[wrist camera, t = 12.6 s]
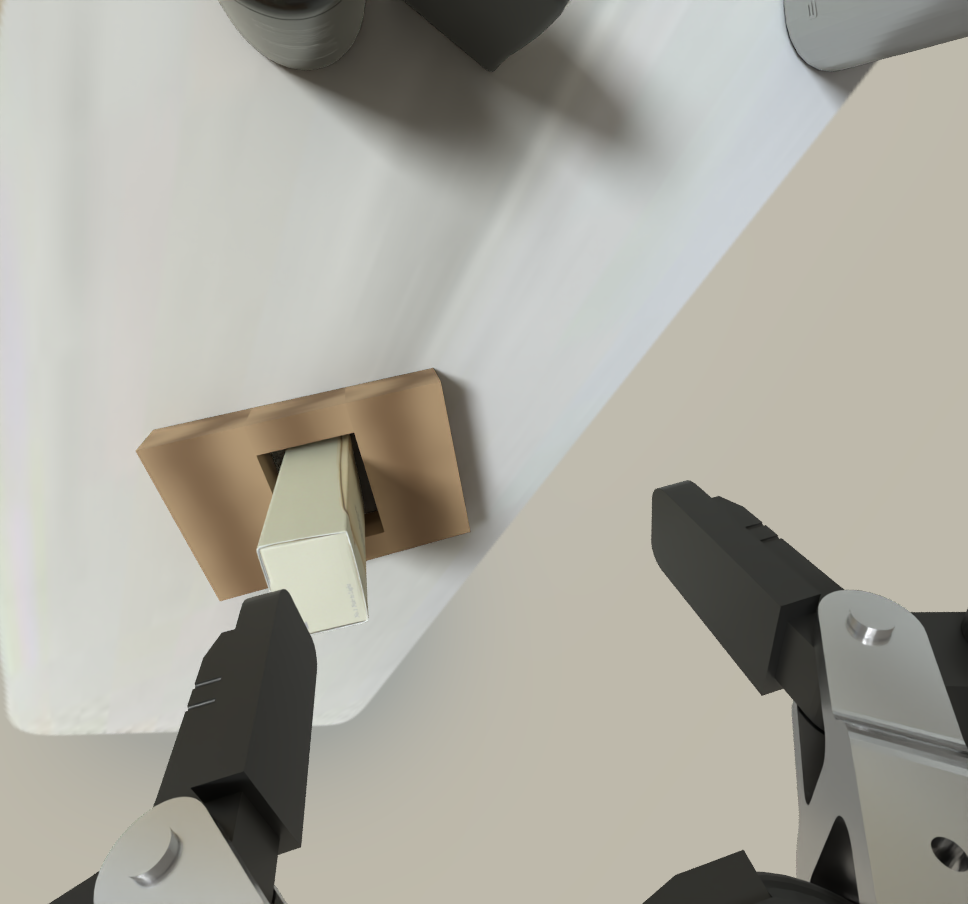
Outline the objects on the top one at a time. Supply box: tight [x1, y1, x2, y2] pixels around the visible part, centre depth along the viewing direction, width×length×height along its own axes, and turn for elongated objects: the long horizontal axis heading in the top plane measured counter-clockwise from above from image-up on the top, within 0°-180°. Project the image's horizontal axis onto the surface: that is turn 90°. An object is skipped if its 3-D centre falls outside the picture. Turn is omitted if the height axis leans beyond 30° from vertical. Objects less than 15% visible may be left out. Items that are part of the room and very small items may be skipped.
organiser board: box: [136, 368, 470, 601], centre depth 34 cm, size 18×12×3 cm, turn 99°
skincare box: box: [257, 434, 369, 635], centre depth 30 cm, size 6×4×12 cm
